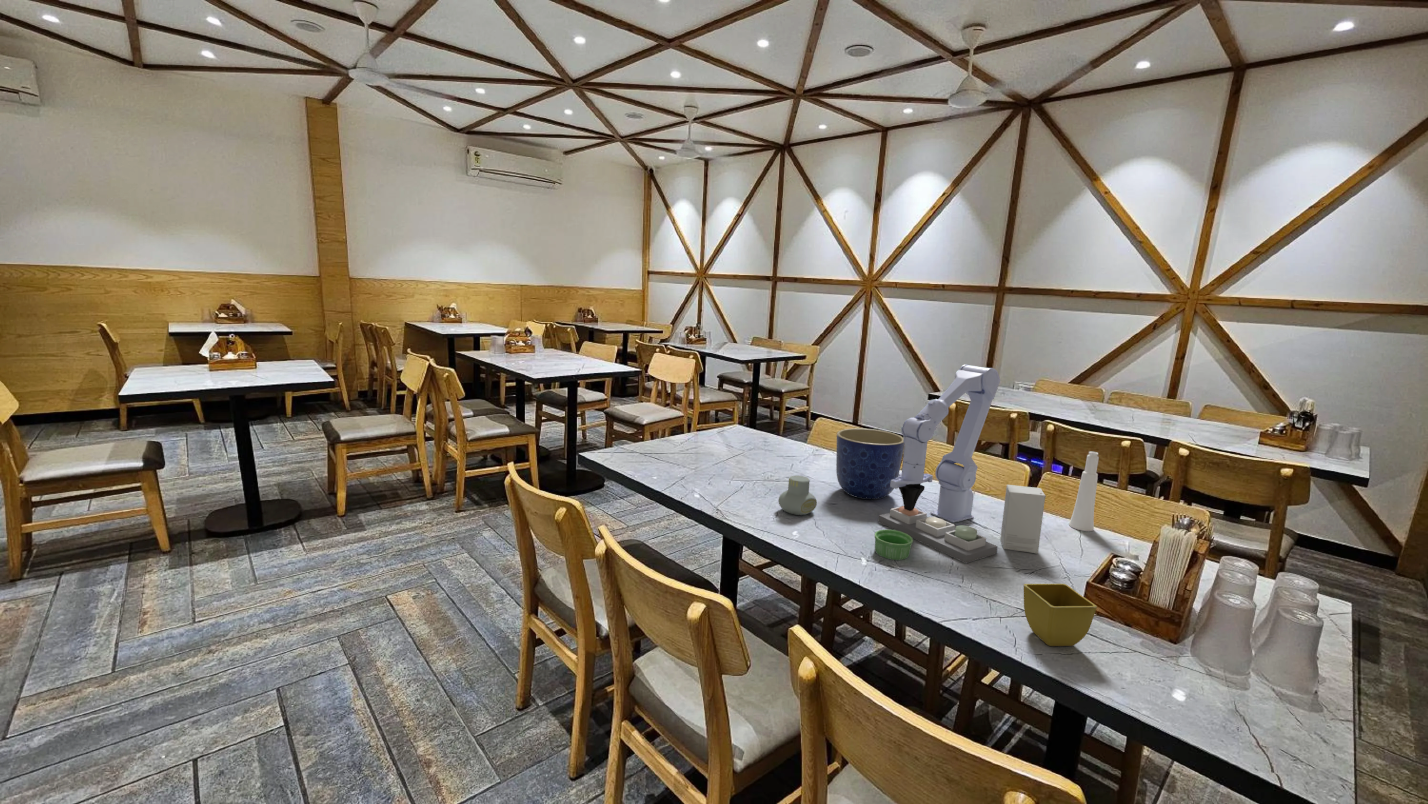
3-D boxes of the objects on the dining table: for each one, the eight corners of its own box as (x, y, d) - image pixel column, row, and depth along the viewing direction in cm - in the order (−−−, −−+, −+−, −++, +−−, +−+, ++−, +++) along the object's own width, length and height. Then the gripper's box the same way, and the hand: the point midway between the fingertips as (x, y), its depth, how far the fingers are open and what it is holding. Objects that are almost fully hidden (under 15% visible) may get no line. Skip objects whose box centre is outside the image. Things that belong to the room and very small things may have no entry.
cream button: (933, 524, 157) (934, 515, 157) (949, 531, 153) (950, 522, 153) (920, 527, 155) (921, 518, 154) (936, 534, 151) (937, 525, 150)
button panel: (907, 515, 169) (909, 502, 168) (996, 553, 146) (998, 538, 145) (878, 521, 163) (879, 508, 162) (965, 563, 140) (967, 547, 139)
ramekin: (891, 564, 138) (893, 546, 137) (865, 549, 145) (866, 532, 145) (919, 557, 142) (920, 540, 141) (892, 543, 150) (893, 527, 149)
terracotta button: (907, 513, 165) (907, 504, 165) (921, 519, 161) (922, 510, 160) (894, 515, 162) (895, 507, 162) (908, 522, 158) (909, 513, 158)
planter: (906, 492, 189) (912, 435, 186) (888, 510, 172) (894, 448, 169) (845, 479, 200) (849, 425, 197) (822, 495, 183) (826, 436, 180)
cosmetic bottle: (1095, 527, 166) (1108, 452, 162) (1091, 533, 162) (1104, 456, 158) (1071, 521, 170) (1083, 448, 166) (1066, 526, 166) (1078, 451, 162)
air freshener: (795, 520, 162) (797, 485, 160) (773, 511, 168) (775, 477, 166) (820, 511, 169) (822, 478, 167) (798, 503, 175) (800, 471, 173)
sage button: (962, 532, 150) (964, 524, 149) (980, 540, 145) (981, 531, 145) (950, 536, 147) (951, 527, 147) (967, 543, 143) (968, 534, 142)
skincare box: (1033, 544, 152) (1042, 487, 149) (1038, 555, 146) (1047, 495, 143) (998, 539, 155) (1006, 483, 152) (1001, 549, 149) (1009, 490, 146)
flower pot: (1015, 625, 113) (1022, 582, 112) (1058, 625, 114) (1065, 582, 112) (1044, 653, 105) (1052, 607, 103) (1090, 652, 106) (1098, 606, 104)
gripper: (920, 455, 166) (915, 501, 168) (883, 461, 158) (878, 508, 161) (941, 462, 160) (935, 509, 162) (904, 468, 152) (898, 517, 155)
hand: (908, 509), depth 161 cm, fingers closed, pressing on terracotta button
